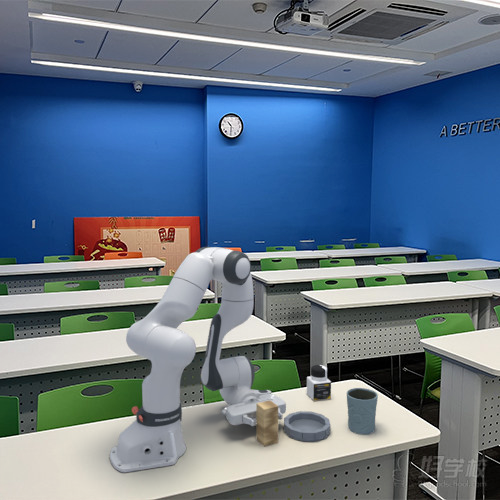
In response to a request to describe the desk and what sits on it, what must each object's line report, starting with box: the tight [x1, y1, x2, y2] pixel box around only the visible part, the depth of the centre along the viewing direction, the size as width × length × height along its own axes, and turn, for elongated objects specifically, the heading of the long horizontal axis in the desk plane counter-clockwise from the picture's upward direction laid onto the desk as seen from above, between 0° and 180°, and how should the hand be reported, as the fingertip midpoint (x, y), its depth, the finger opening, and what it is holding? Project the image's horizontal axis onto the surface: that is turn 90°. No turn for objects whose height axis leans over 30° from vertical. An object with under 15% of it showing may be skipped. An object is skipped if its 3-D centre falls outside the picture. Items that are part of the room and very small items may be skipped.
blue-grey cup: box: [346, 387, 379, 435], centre depth 163 cm, size 10×10×12 cm
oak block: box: [255, 400, 279, 447], centre depth 154 cm, size 5×5×12 cm
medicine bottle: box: [306, 364, 332, 402], centre depth 187 cm, size 7×7×12 cm
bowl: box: [283, 410, 331, 443], centre depth 162 cm, size 15×15×3 cm
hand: (267, 420), depth 154 cm, fingers open, 8 cm apart
